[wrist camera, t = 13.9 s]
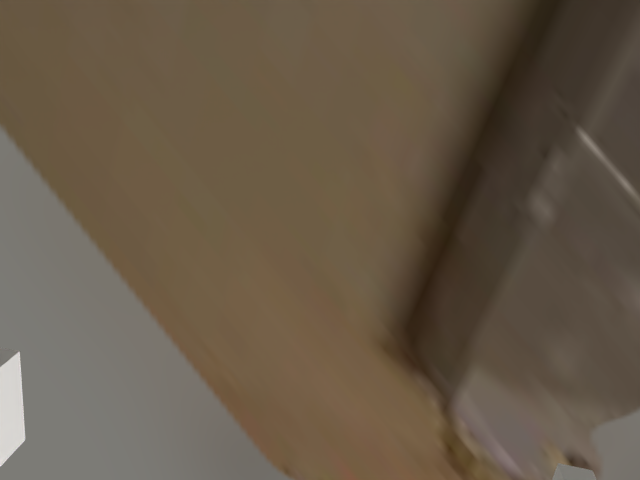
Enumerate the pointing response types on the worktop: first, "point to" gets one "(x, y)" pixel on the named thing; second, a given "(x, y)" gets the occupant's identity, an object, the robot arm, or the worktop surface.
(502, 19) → the worktop surface
